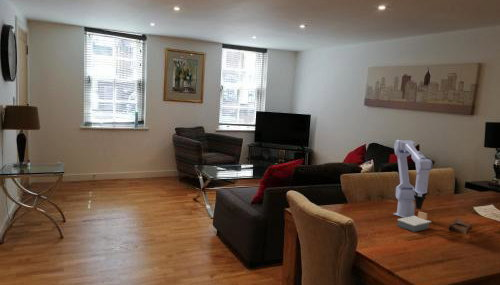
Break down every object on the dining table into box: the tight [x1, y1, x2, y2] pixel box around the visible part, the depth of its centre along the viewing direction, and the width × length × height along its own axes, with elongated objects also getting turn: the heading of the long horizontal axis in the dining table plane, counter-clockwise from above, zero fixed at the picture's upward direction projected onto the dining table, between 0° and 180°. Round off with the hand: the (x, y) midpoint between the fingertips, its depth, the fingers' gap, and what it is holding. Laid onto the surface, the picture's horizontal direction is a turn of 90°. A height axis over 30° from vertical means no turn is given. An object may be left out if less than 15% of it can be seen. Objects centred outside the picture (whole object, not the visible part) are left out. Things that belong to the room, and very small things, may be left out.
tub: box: [397, 220, 430, 233], centre depth 187 cm, size 13×9×3 cm
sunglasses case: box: [448, 217, 472, 236], centre depth 190 cm, size 18×7×7 cm, turn 142°
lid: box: [397, 210, 432, 226], centre depth 187 cm, size 15×10×5 cm, turn 122°
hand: (419, 207), depth 190 cm, fingers open, 7 cm apart
